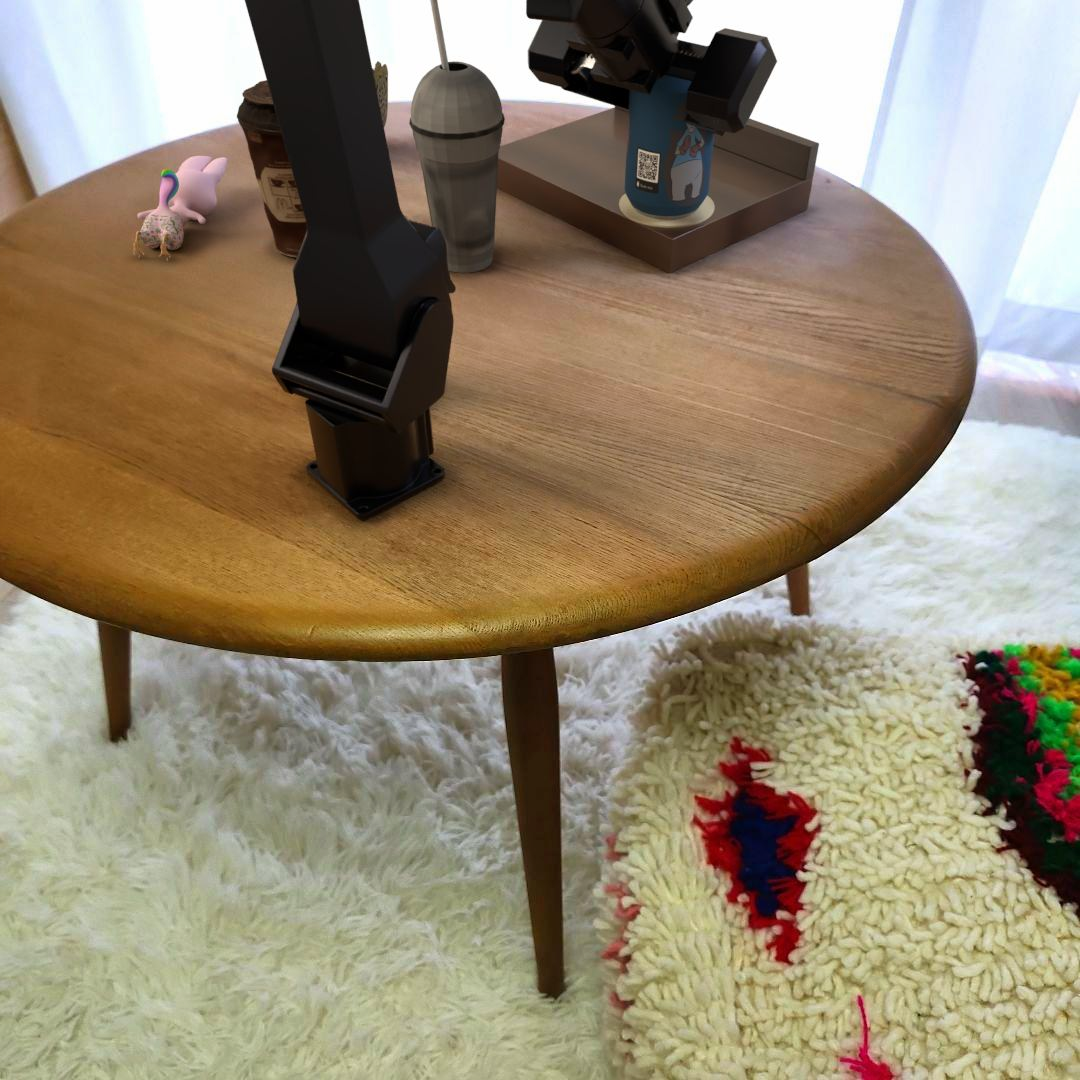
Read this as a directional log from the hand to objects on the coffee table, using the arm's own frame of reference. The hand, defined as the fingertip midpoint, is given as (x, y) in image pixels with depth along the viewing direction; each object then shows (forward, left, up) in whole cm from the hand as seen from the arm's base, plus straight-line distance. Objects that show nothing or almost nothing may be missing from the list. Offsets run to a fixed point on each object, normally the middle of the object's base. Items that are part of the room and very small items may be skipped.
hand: (682, 118), depth 82 cm
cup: (-10, +33, -10) cm, 36 cm away
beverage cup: (-16, +8, -10) cm, 21 cm away
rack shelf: (+4, +7, -10) cm, 13 cm away
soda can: (-1, 0, -7) cm, 7 cm away
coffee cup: (-24, +19, -10) cm, 33 cm away
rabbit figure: (-30, +30, -10) cm, 44 cm away
